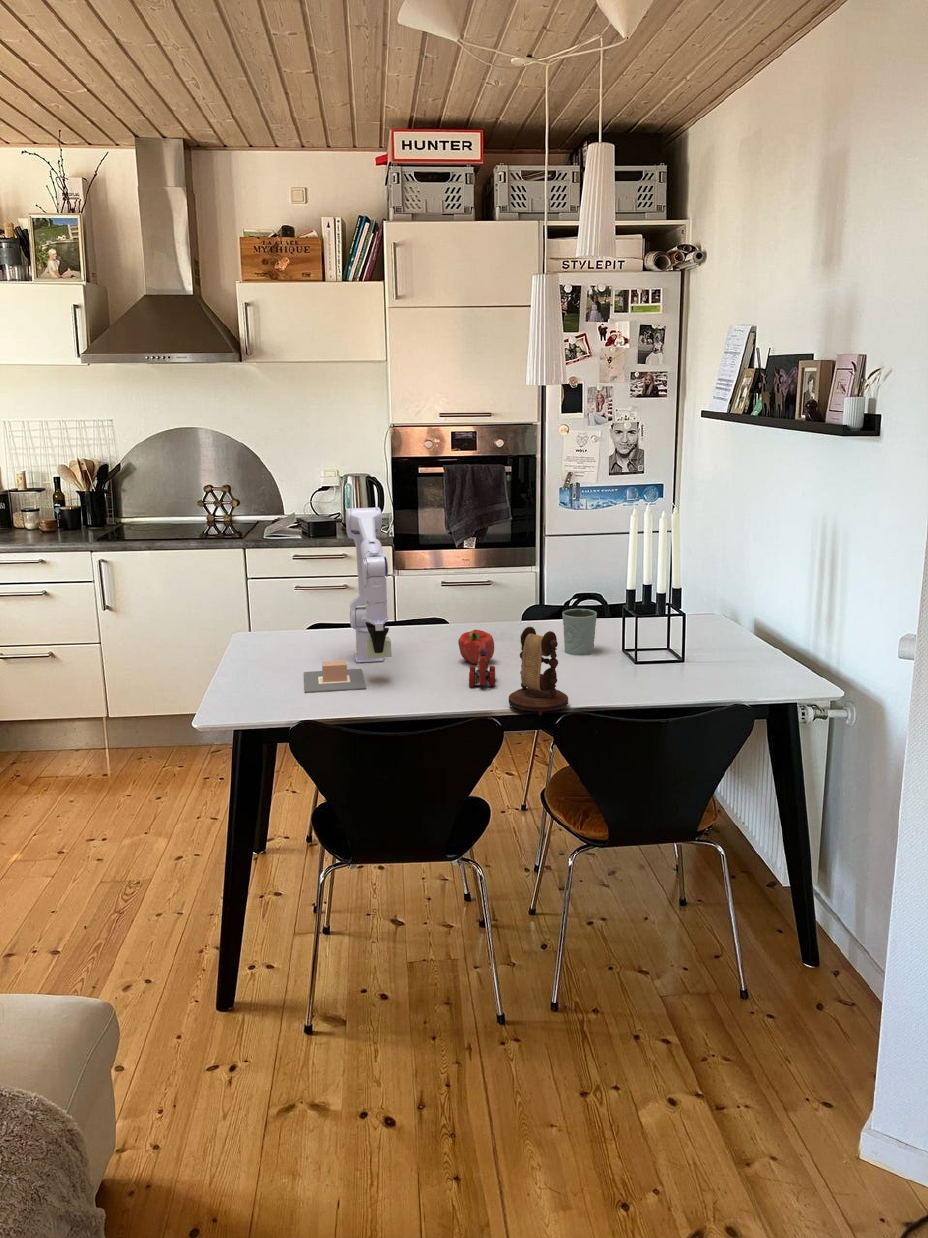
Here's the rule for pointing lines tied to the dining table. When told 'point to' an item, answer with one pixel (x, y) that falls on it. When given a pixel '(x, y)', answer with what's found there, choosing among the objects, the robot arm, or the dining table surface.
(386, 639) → the sage brick
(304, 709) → the dining table surface
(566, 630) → the grey green cup
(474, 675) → the toy fire truck
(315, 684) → the mat
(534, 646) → the scroll
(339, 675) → the terracotta brick
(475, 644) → the vegetable
